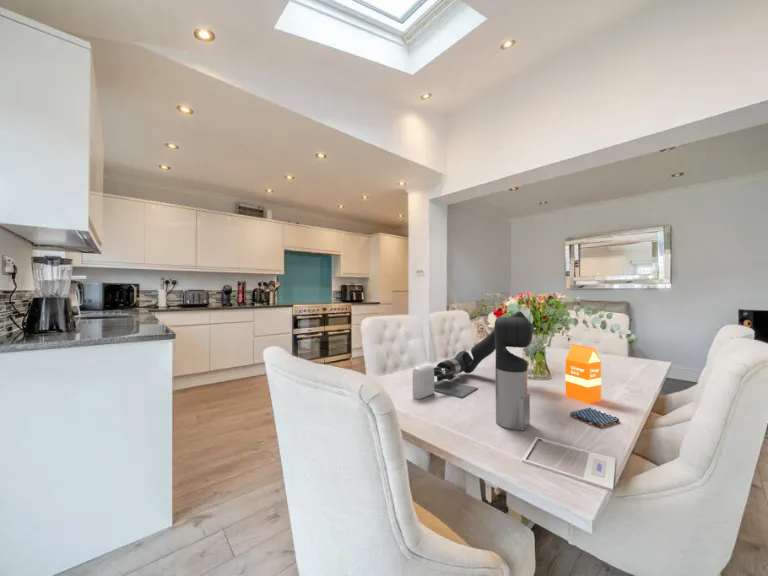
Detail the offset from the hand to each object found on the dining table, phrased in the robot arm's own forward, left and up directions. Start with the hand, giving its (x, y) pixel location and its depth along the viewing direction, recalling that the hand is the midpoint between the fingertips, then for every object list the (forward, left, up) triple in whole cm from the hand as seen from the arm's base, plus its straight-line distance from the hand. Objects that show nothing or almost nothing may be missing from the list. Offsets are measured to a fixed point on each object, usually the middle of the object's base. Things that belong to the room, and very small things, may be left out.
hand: (428, 376), depth 126 cm
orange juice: (-48, -33, -7) cm, 59 cm away
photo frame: (-53, +19, -7) cm, 57 cm away
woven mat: (-54, -13, -7) cm, 56 cm away
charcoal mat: (-4, -10, -7) cm, 13 cm away
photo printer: (0, +4, -7) cm, 8 cm away
